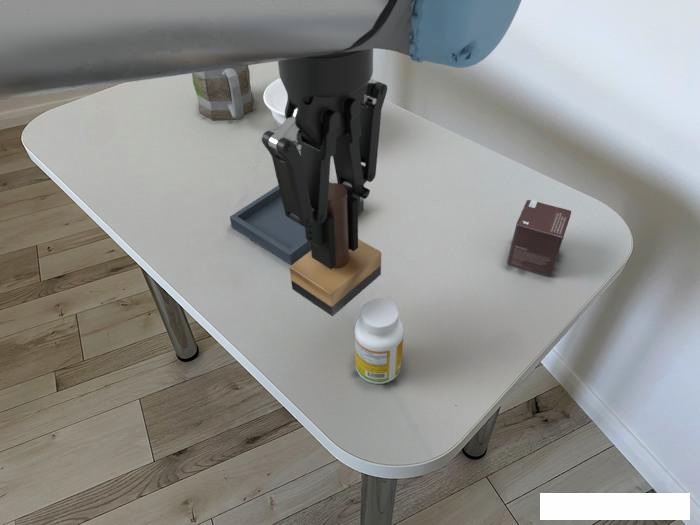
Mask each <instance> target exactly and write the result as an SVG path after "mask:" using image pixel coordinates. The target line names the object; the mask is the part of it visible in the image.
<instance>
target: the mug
mask: <svg viewBox="0 0 700 525" xmlns="http://www.w3.org/2000/svg"><path fill="white" fill-rule="evenodd" d="M250 74H251V73H250V68H249V65H247V66H240V67H233V68H225V69H218V70H211V71H204V72H197V73H191V78H192V84H193V87H194V91H195V93H196V97H197V102H198V109H199V110H198V112H199V114H201V115H202V116H204V117H206V118H208V119H209V120H211V121H235V120H238V119H242V118H243V117H244V116H246V115H248V114H250V113H251V112H253V109H254V101H255V99H254V97H253V92H252V89H251V88H252V87H251V78H250V77H251V76H250Z"/></svg>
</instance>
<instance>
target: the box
mask: <svg viewBox="0 0 700 525" xmlns="http://www.w3.org/2000/svg"><path fill="white" fill-rule="evenodd" d="M571 215H572V210H570V209H567V208H564V207H559V206H554V205H550V204H547V203H543V202H539V201H536V200H531V199H527V200H526V201H525V203H524V206H523V207H522V209H521V211H520V215H519V217H518V219H517V222H516V224H515V227H514V228H515V229H514V232H513V235H512V236H513V237H512V240H511V244H510V248H509V253H508V256H507V260H506V264H507V265H509V266H512V267H515V268H518V269H523V270H526V271H529V272H533V273H535V274H539V275H542V276H546V277H550V276H551V275H552V274H553V269H554V267H555V265H556V261H557V258H558V255H559V253H560V249H561V247H562V243H563V240H564V237H565V233H566V230H567V228H568V225H569V222H570V219H571Z"/></svg>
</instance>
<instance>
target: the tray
mask: <svg viewBox="0 0 700 525" xmlns="http://www.w3.org/2000/svg"><path fill="white" fill-rule="evenodd" d="M329 183H331V182H330V181H329ZM364 201H365V199H362V198H361V197H360V214H361V213H362V212H364V206H365V205H364V204H365V203H364ZM229 219H230V220H229V221H230V224H231V228H232V229H233V230H235V231H237V232H239V233H240V234H242V235H244V236H245V237H246V238H247V239H250V240H251V241H252V242H254V243H256V244H257V245H259V246H260V247H262V248H264V249H265V250H266V251H268V252H270V253H271V254H273V255H274V256H275V257H278V258H279V259H281V260H282V261H283V262H285V263H287V264H288V265H290V266H291V265H293V264H294V263H295V262H297V261H298V260H299V259H301V258H302V257H303V256H305V255H306V254H307V253H308V252H310V251H311V243H310V242H308V241H307V239H306V233H305V227H304V226H302V225H300V224H298V223H297V222H295V221H293V220H292V219H290V218H289V217H287V216H286V215H285V210H284V206H283V202H282V198H281V193H280V189H279V185H278V184H277V185H276V186H275V187H273V188H272V189H270V190H269V191H267V192H266V193H264V194H262V195H261V196H260V197H258V198H256V199H255V200H253V201H251V202H250V203H249V204H247V205H246V206H243V207H242V208H241V209H239V210H237V211H235V212H234V213H233V214H231V215H230V216H229Z"/></svg>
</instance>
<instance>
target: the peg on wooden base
mask: <svg viewBox="0 0 700 525" xmlns="http://www.w3.org/2000/svg"><path fill="white" fill-rule="evenodd" d="M327 213H328V214H329V215H331V216H333V217H334V236H335V257H336V266H335V267H333V268H332V269H329V268H328V267H326V266H325V265H323V264H321V263H320V262H318V261H317V260H315V259H313V258H312V253H311V251H310V252H308V253H307V254H306V255H304V256H303V257H302V258H301V259H299V260H298V261H297V262H295V263H294V264H293V265H290V266H289V275H290V281H291V289H292V290H293V291H294V292H295V293H297V294H298V295H300V296H301V297H303V298H305V299H306V300H308V301H309V302H310V303H311V304H313V305H315V306H316V307H318V308H319V309H320V310H322V311H324V312H325V313H327V314H328V315H330V316H331V317H334V316H335V315H336V314H337V313H338V312H340V311H341V310H342V309H343V308H344V307H346V305H348V304H349V303H350V302H352V300H353V299H355V298H357V296H359V294H361V292H363V291H364V290H365V289H366V288H367V287H368V286H369V285H371V284H372V283H374V282H375V280H376V279H378V278H379V277H380V276H381V275H382V251H380V250H378V249H377V248H375V247H373V246H372V245H370V244H368V243H366V242H364V241H363V240H361V239H359V238H358V248H357V249H356V250H355V251H352V250H350V249H349V237H348V201H347V189H346V187H345V186H343V185H341V184H338V182H330V183H329V191H328V208H327Z"/></svg>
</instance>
